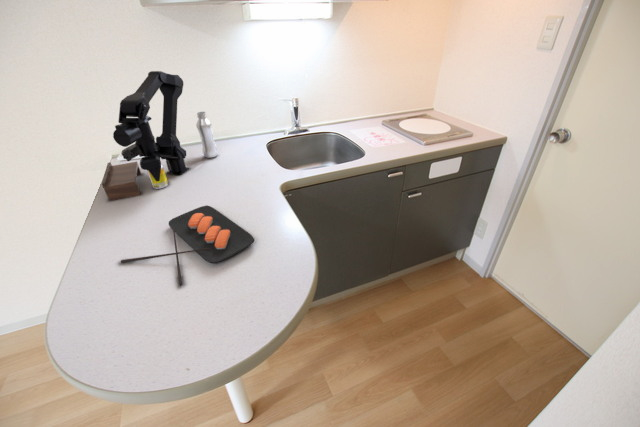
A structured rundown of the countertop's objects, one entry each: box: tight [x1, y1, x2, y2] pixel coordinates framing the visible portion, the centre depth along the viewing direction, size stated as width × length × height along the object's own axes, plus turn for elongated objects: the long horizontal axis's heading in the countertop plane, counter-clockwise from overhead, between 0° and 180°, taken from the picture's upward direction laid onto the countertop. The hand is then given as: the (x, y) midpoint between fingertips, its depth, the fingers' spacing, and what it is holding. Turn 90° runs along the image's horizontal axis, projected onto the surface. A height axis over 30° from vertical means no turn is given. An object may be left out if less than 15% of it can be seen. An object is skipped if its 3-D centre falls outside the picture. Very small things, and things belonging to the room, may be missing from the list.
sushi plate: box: [120, 205, 255, 286], centre depth 87 cm, size 29×30×4 cm
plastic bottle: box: [196, 111, 219, 158], centre depth 138 cm, size 6×7×20 cm
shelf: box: [101, 161, 143, 202], centre depth 119 cm, size 20×10×7 cm, turn 25°
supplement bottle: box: [146, 164, 169, 190], centre depth 117 cm, size 6×6×10 cm
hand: (157, 176), depth 118 cm, fingers open, 9 cm apart
